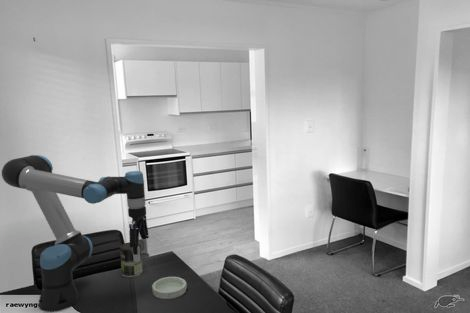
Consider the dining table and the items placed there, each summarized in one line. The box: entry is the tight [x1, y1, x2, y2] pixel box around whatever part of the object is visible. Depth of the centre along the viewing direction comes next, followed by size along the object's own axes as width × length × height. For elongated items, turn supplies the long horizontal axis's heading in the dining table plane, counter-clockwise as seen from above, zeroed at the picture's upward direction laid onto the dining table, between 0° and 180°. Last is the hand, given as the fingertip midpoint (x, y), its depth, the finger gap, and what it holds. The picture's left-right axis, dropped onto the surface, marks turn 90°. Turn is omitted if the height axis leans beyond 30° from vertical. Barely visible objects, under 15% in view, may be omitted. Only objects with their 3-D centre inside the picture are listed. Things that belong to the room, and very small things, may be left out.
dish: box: [151, 276, 188, 300], centre depth 165 cm, size 15×15×3 cm
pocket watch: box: [130, 239, 150, 261], centre depth 162 cm, size 8×8×10 cm
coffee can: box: [119, 241, 144, 278], centre depth 183 cm, size 10×10×14 cm
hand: (140, 256), depth 163 cm, fingers closed on pocket watch, 8 cm apart
